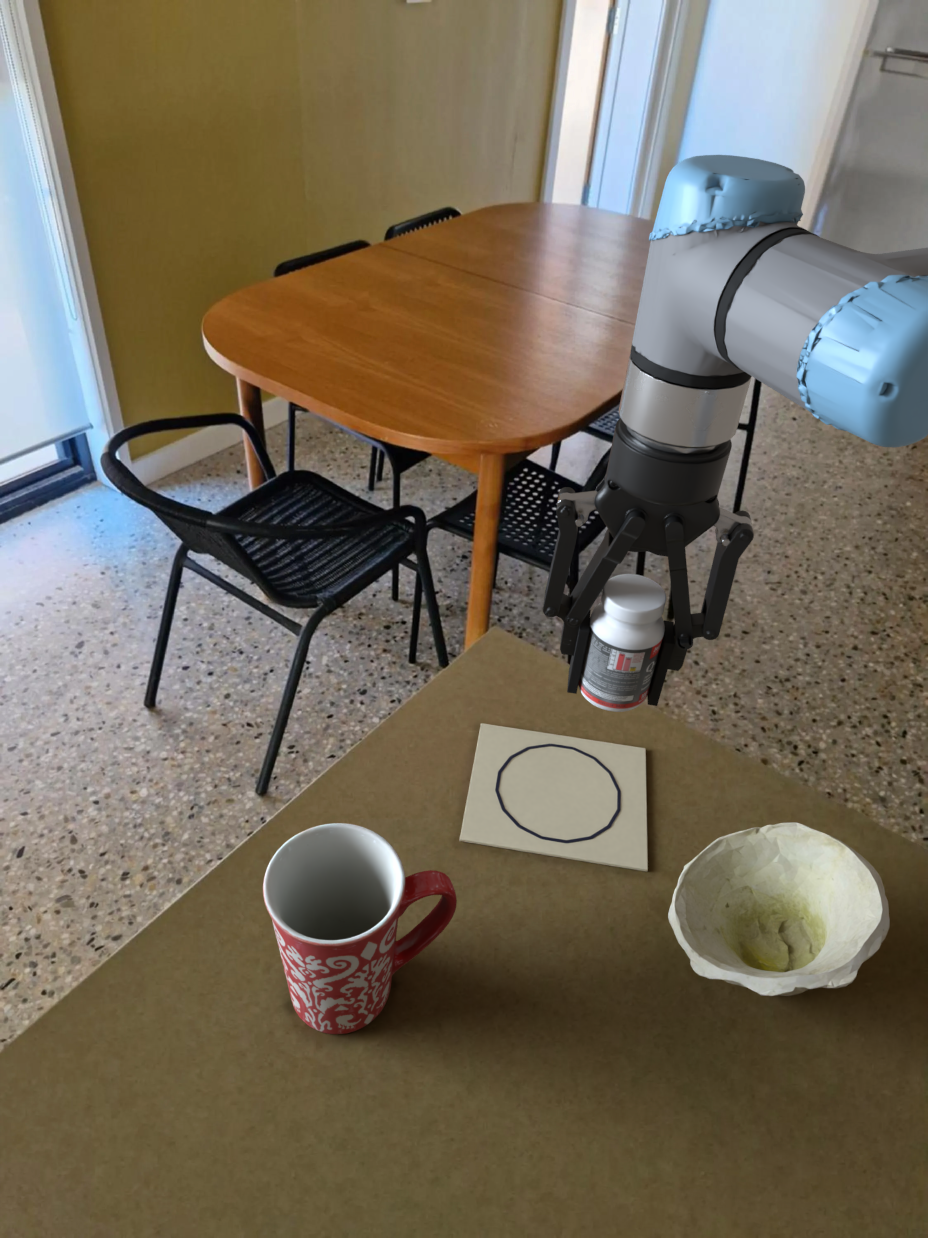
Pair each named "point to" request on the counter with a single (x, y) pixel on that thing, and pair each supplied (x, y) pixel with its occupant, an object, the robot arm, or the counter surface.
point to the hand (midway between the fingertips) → (612, 687)
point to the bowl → (779, 910)
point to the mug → (346, 921)
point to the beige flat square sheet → (558, 797)
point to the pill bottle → (623, 643)
